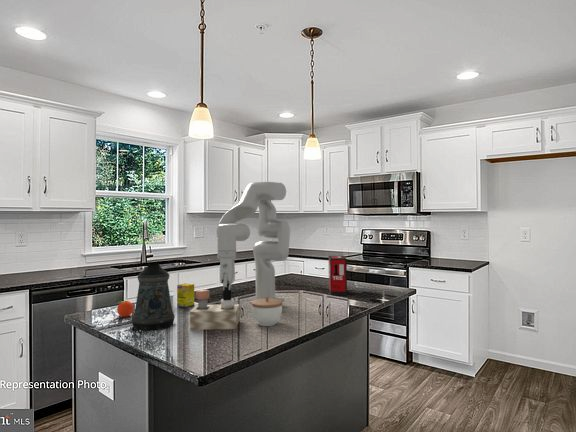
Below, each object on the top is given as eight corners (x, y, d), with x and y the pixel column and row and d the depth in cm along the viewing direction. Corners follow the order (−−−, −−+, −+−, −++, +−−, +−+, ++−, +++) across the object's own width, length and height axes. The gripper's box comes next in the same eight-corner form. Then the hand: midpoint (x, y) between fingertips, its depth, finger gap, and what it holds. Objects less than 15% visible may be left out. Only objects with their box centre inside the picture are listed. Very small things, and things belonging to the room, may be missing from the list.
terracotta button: (210, 311, 164) (210, 289, 164) (208, 314, 159) (207, 291, 159) (197, 311, 164) (197, 289, 164) (195, 314, 159) (194, 292, 159)
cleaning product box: (346, 295, 219) (346, 258, 219) (330, 295, 220) (330, 258, 220) (343, 289, 236) (343, 255, 236) (328, 289, 236) (328, 255, 236)
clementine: (113, 319, 173) (113, 302, 173) (115, 315, 179) (115, 299, 179) (133, 317, 175) (132, 301, 175) (134, 314, 181) (134, 298, 181)
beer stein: (138, 334, 151) (137, 268, 151) (125, 323, 166) (124, 263, 166) (180, 326, 160) (180, 264, 160) (164, 316, 176) (163, 260, 176)
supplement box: (177, 307, 194) (176, 284, 194) (185, 304, 199) (185, 282, 199) (186, 308, 191) (186, 285, 191) (194, 305, 197) (194, 283, 197)
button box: (239, 320, 168) (238, 304, 168) (235, 329, 156) (235, 311, 156) (196, 321, 168) (196, 304, 168) (189, 329, 156) (189, 311, 156)
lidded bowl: (266, 318, 172) (266, 292, 172) (288, 323, 164) (288, 296, 164) (245, 324, 162) (245, 297, 162) (268, 330, 154) (268, 301, 154)
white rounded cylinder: (234, 320, 165) (234, 298, 164) (233, 323, 159) (233, 301, 159) (222, 320, 164) (222, 298, 164) (220, 323, 159) (220, 301, 159)
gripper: (234, 256, 154) (234, 303, 154) (238, 252, 169) (238, 296, 169) (214, 256, 154) (214, 304, 154) (220, 253, 169) (220, 296, 169)
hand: (227, 299), depth 162 cm, fingers closed
